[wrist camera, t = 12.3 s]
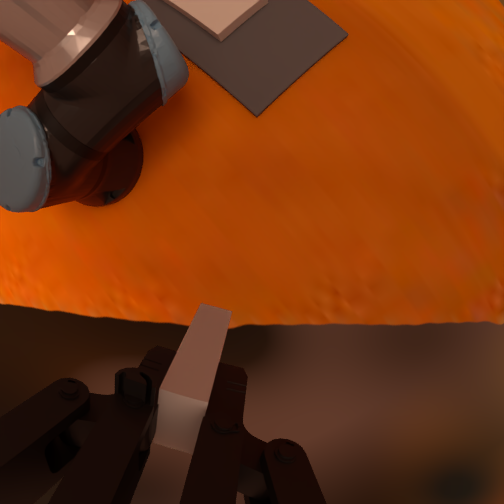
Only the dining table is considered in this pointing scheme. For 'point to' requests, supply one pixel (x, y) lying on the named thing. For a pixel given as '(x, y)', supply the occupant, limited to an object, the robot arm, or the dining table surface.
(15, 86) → the dining table surface
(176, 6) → the tile
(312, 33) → the mat
